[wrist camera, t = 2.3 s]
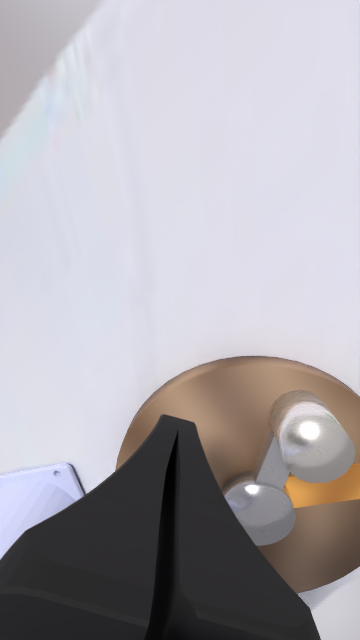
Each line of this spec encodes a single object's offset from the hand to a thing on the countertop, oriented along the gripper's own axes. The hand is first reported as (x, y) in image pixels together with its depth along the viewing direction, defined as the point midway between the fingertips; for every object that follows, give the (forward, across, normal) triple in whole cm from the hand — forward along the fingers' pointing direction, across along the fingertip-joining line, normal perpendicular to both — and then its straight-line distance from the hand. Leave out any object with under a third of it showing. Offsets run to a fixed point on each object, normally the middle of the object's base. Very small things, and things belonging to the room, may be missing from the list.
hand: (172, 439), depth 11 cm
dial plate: (+7, -6, +7) cm, 12 cm away
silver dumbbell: (+6, -6, +4) cm, 9 cm away
